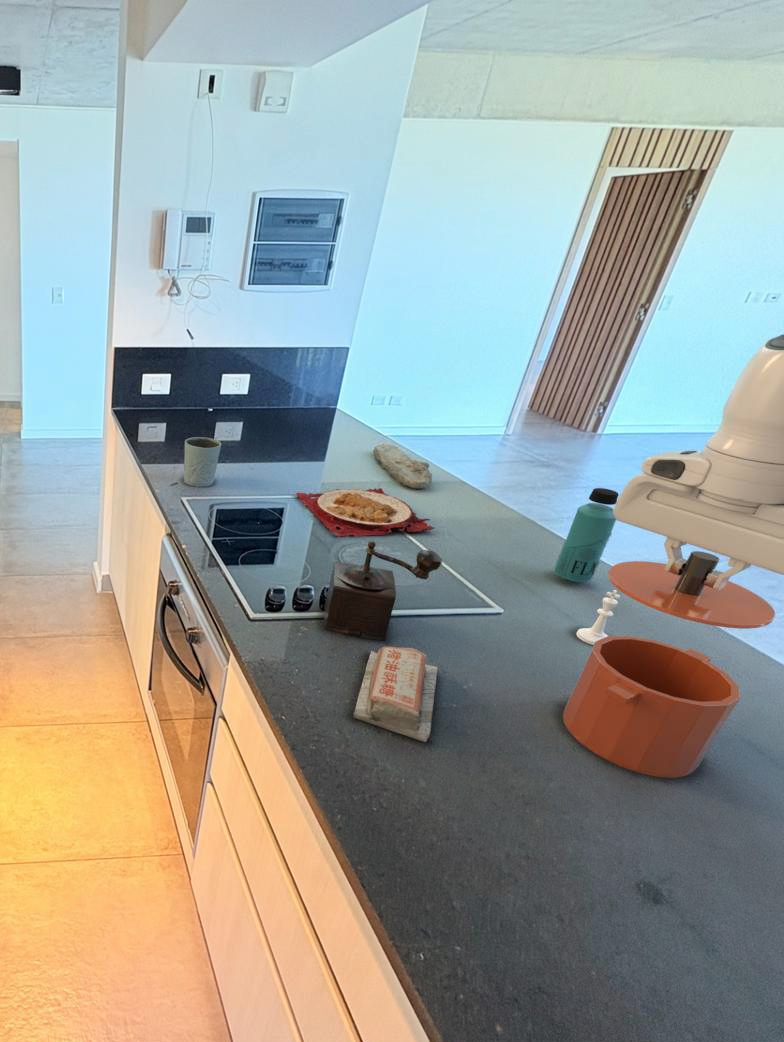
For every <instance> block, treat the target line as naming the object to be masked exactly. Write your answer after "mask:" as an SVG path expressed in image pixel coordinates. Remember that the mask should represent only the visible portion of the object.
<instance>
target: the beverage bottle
mask: <svg viewBox="0 0 784 1042" xmlns="http://www.w3.org/2000/svg"><path fill="white" fill-rule="evenodd" d="M618 498H619V492H617V491H616V490H613V489H610V488H602V487H595V488H593V489H592V491H591V493H590V495H589V497H588V500H589V501H591V502H588V503H585V504H583V505H580V506H578V507H577V509H576V512H575V515H574V518H573V520H572V523H571V526H570V528H569V531H568V534H567V536H566V539H565V540H564V542H563V544H562V547H561V549H560V552H559V555H558V557H557V560H556V561H555V565H554V573H555V574H556V575H557V576H559V577H560V578H562V579H565V580H567V581H572V582H576V583H577V582H578V583H587V582H590V581H591V579H593V577H594V576H595V573H596V572H597V570H598V566H599V565H600V563H601V562H600V561H601V560H602V559H601V558H603V554H604V550H605V548H606V547H607V545H608V543H609V540H610V538H611V536H612V533H613V532H612V531H613V530H614V527H615V524H616V522H617V520H616V518H615V516H614V513H613V509H614V507H611V506H613V505H614V506H615V504H616V502H617V500H618Z"/></svg>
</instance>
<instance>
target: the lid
mask: <svg viewBox="0 0 784 1042" xmlns="http://www.w3.org/2000/svg"><path fill="white" fill-rule="evenodd" d="M686 560H687V562H686V563H685V565H684V567H683V569H682V571H681V573H680V575H676V574H673V573H670V572H667V571H665V570H664V569H665V567H666V565H667V563H662V562H654V561H643V560H642V561H641V560H640V561H639V560H637V561H635V560H633V561H632V560H631V561H622V562H619V563H616V564H614V565H612V566H611V567H610V568H609V571H608V574H607V577H608V580H609V582H610V583H611V584H612V585H613V586H614V588H616V589H617V591H620V592H621V593H622V594H624V595H625V596H627V597H629V598H631V599H632V600H634V601H636V602H638V603H640V604H642V605H644V606H647V607H649V608H652V609H654V610H656V611H659V612H662V613H664V614H667V615H670V616H673V617H677V618H680V619H683V620H687V621H690V622H694V623H699V624H704V625H707V626H708V625H709V626H713V627H720V628H728V629H743V630H745V629H746V630H747V629H748V630H749V629H759V628H763V627H766V626H768V625H770V624H772V622H773V621H774V620H775V618H776V612H775V609H774V607H773V606H772V605H771V604H770V603H769V602H768V601H767V600H765V599H764V598H763V597H761V596H760V595H758V594H756V593H755V592H753V591H751V590H749V589H748V588H746V587H743V586H741V585H739V584H738V583H734V582H732V581H730V580H728V582H727V584H726V585H725V586H724V588H722V589H720V590H716V589H714V588H711V587H708V586H706V585H703V583H704V581H705V580H707V579H706V577H707V575H708V573H710V572H713V571H715V570H716V569H717V566H718V564H719V562H720V557H718V556H717V555H715V554H713V553H708V552H706V551H698V550H694V551H691V552H690V553H689V555H688V558H687V559H686Z"/></svg>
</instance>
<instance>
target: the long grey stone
mask: <svg viewBox="0 0 784 1042" xmlns="http://www.w3.org/2000/svg"><path fill="white" fill-rule="evenodd" d="M372 452H373V454H374V456H375V459H377V461H378V462H379V463H380V464H381V467H382V468H384V469H385V470H386V471H387V472H388V474H389V475H391V476H392V477H393V478H394V479H395V480H396V481H397V482H398V483H399V484H403V485H404V486H407V487H410V488H411V489H427V488H428V486H429V485H431V484H432V480H433V474H432V473H431V472H430V470H429V468H430V464H429V463H428V462H425V461H417V460H412V459H411V458H410V456H408V455H406V453H404V452H403V451H401V450H400V449H399V447H397V446H394V445H393V444H385V443H383V444H378V445H376V446H375V447H374V449H373V450H372Z"/></svg>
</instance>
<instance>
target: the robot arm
mask: <svg viewBox="0 0 784 1042" xmlns="http://www.w3.org/2000/svg"><path fill="white" fill-rule="evenodd" d="M640 469H641V472H642V473H640V474H636V475H635V476H633V477H632V478H631V479H630V480H629V481H628V482H627V483H626V485H625V487H624V488H623V490H622V491H621V493H620V494H619V495H618V498H617V502H616V504H614V507H613V513H614V516H615V518H616V521H618V522H620V523H623V524H626V525H630V526H633V527H636V528H639V529H642V530H645V531H648V532H651V533H654V534H657V535H661V536H663V537H665V538H666V539H665V541H664V543H663V546H664V549H665V553H666V556H667V559H668V561H667V562H666V564H667V565H666V567H665V569H664V570H665V571H667V572H670V573H673V574H676V575H680V573H681V571H682V569H683V567H684V565H685V563H686V562H687V560H688V559H685V558H684V556H683V552H682V547H683V546H686V545H690V546H693V547H697V548H700V549H702V550H706V551H709V552H712V553H715V554H718V555H721V556H724V557H727V558H729V560H728V562H727V564H726V565H727V566H728V567H731V568H729V569H728V570H725V571H724V572H723V571H720V570H717V569H714V571H713V572H710V573H708V575H707V577H706V579H707V580H705V581H704V583H703V585H706V586H708V587H711V588H714V589H716V590H720V589H722V588H724V586H725V585H726V584H727V582H728V581H730V578H731V577H733V576H735V575H736V574H739V573H740V572H743V571H745V570H747V569H749V568H751V566H753V567H754V566H755V567H758V568H761V569H764V570H766V571H770V572H772V573H776V574H779V575H782V576H784V333H783V334H780V335H778V336H775V337H772V338H770V339H769V340H767V341H766V342H765V343H763V345H761V346H760V347H759V348H758V349H757V350H756V352H755V353H754V354H753V355H752V356H751V358H749V360H748V361H747V363H746V364H745V366H744V368H743V369H742V371H741V372H740V374H739V376H738V378H737V380H736V381H735V383H734V385H733V387H732V389H731V391H730V393H729V395H728V397H727V399H726V402H725V403H724V405H723V408H722V416H721V421H720V424H719V426H718V428H717V429H716V430H715V432H714V433H713V434H712V435H711V436H710V437H709V438H708V440H707V441H706V443H705V445H704V447H703V449H702V450H701V449H700V450H698V449H697V450H692V449H691V450H687V449H686V450H685V449H684V450H670V451H666V452H661V453H657V454H654V455H652V456H649V457H646V458H645V459H644V460H643V462H642V464H641V468H640Z"/></svg>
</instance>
